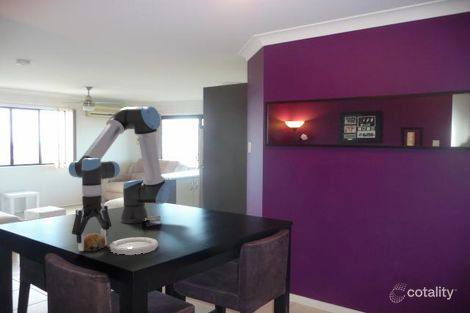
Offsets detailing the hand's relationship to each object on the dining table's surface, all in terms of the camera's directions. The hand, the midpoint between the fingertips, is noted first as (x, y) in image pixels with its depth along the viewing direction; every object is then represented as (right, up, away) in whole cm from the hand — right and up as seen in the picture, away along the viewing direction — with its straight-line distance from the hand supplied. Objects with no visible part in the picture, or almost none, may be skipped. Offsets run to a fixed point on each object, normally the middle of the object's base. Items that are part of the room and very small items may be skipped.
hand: (92, 247), depth 154 cm
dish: (+17, 0, +1) cm, 17 cm away
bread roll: (0, -1, 0) cm, 1 cm away
